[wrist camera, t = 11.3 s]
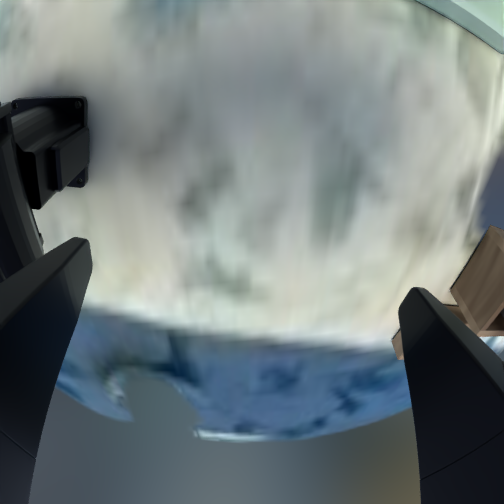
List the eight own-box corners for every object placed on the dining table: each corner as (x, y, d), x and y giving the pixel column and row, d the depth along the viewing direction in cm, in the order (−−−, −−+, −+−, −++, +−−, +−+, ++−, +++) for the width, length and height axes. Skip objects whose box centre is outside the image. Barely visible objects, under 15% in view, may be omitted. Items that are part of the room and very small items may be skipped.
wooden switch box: (391, 341, 32) (400, 366, 29) (419, 303, 28) (431, 329, 25) (442, 341, 33) (451, 364, 30) (469, 307, 29) (482, 330, 26)
